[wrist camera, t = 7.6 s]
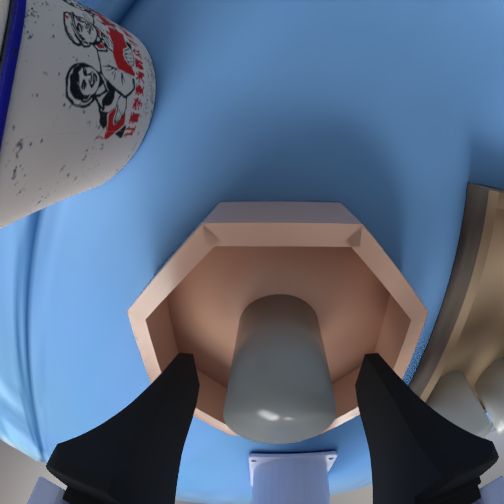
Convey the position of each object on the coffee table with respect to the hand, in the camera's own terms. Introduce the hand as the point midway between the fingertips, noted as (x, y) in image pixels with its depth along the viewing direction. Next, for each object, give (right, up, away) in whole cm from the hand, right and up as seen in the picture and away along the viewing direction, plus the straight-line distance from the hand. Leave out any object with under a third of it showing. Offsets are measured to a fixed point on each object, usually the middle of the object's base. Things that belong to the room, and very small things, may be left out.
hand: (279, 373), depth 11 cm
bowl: (0, +1, +3) cm, 4 cm away
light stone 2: (+19, -5, +4) cm, 20 cm away
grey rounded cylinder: (0, +1, +3) cm, 3 cm away
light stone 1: (+13, -5, +5) cm, 15 cm away
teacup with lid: (-10, +13, -1) cm, 17 cm away
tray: (+16, -1, +3) cm, 17 cm away
